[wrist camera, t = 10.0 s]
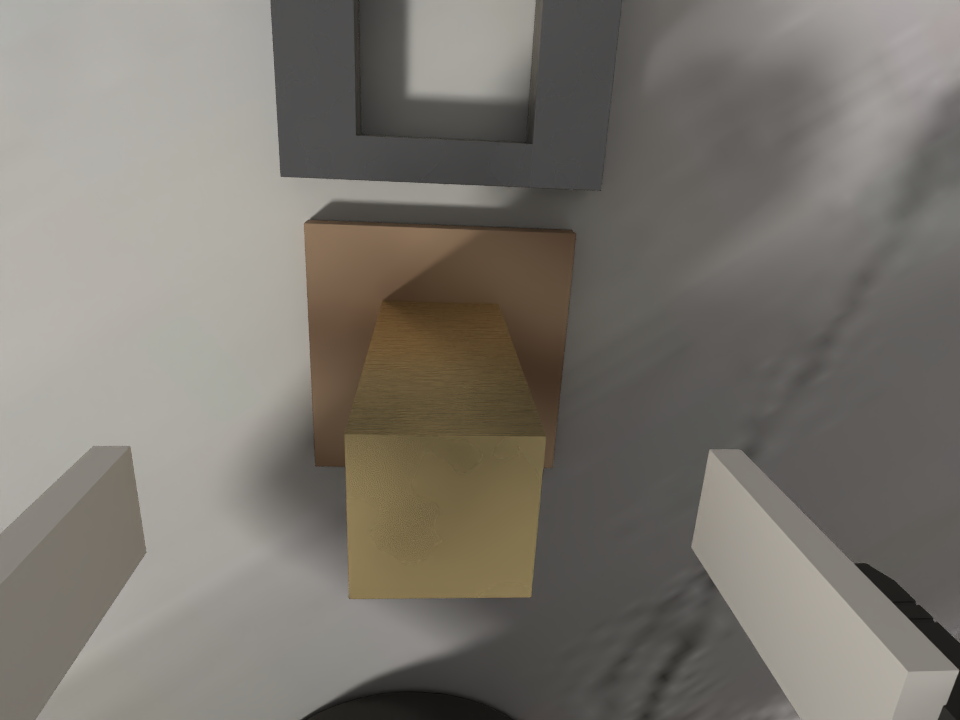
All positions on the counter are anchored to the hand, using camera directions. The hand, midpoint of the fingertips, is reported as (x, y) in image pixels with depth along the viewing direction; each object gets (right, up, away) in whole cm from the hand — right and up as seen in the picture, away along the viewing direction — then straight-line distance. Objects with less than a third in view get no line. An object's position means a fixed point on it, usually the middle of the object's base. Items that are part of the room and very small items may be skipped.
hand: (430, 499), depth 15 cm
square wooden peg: (0, +3, +8) cm, 9 cm away
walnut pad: (0, +4, +9) cm, 9 cm away
